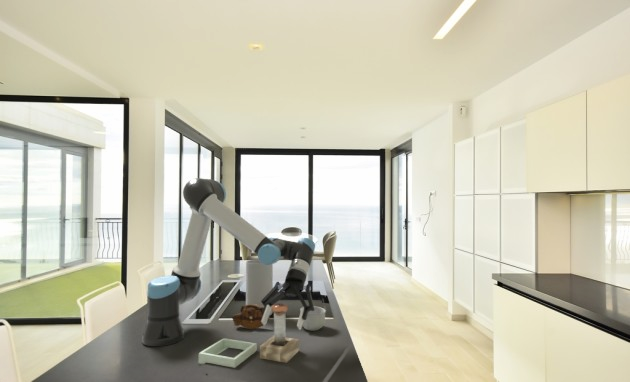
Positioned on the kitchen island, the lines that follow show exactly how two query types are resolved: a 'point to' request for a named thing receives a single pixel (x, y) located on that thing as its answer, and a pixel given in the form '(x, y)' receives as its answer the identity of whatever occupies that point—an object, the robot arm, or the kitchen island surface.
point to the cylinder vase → (258, 282)
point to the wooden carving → (249, 316)
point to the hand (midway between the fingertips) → (280, 325)
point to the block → (279, 350)
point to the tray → (212, 352)
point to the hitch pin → (279, 324)
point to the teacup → (314, 319)
